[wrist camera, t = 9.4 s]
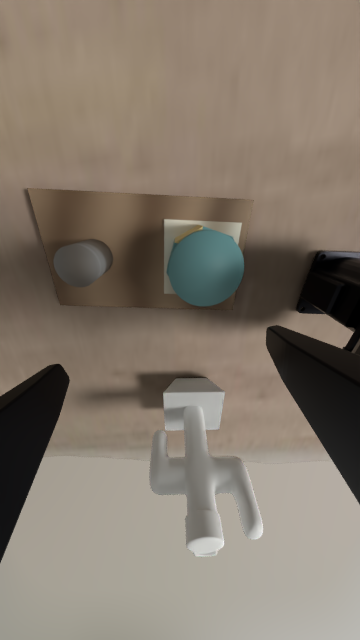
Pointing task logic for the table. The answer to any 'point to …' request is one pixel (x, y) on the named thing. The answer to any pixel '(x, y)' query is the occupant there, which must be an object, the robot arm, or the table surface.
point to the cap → (205, 266)
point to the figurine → (201, 466)
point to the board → (126, 243)
